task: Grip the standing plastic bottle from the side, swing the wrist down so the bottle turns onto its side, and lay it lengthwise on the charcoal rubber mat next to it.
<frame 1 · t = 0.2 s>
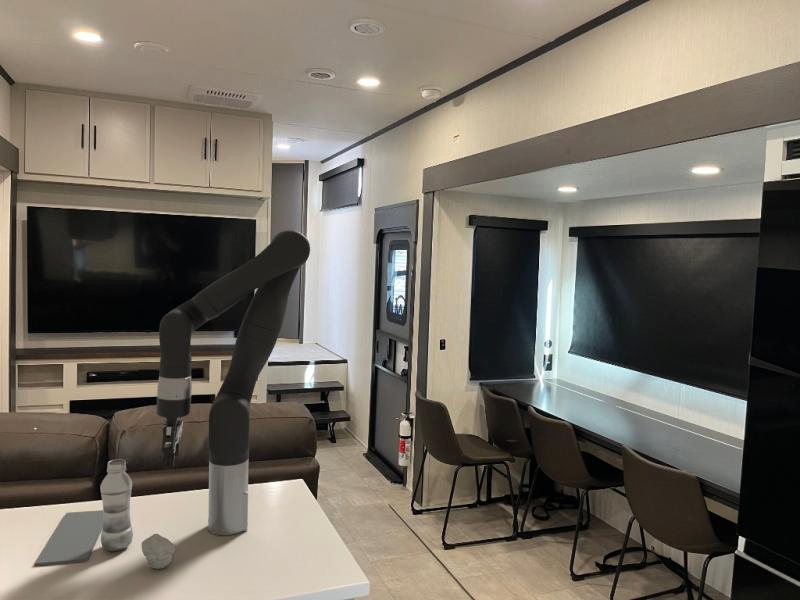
hand: (171, 461, 143), 17 cm above the table, tool pointing down, fingers open, 8 cm apart
plastic bottle: (116, 548, 136), on the table
charcoal rubber mat: (76, 536, 140), on the table
grey cupcake: (158, 568, 129), on the table
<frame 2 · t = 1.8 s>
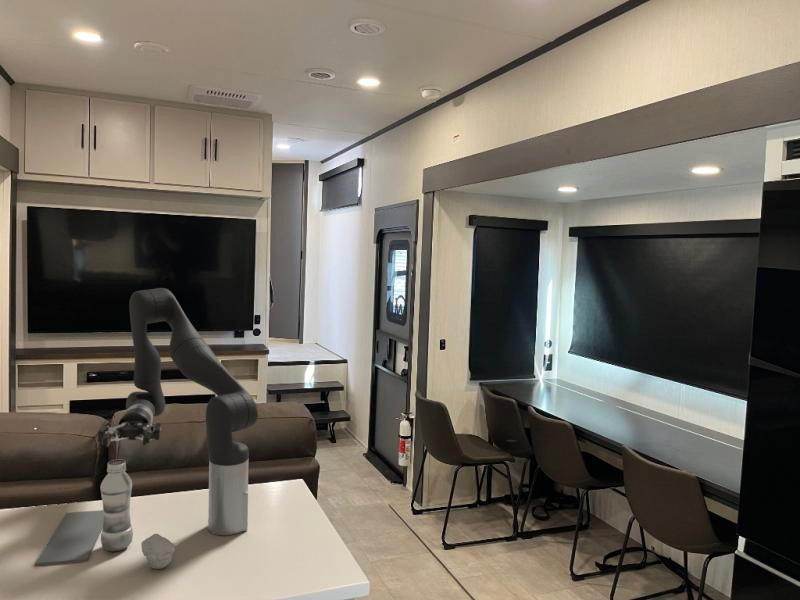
hand: (125, 442, 145), 21 cm above the table, tool horizontal, fingers open, 8 cm apart
nothing on the table moved.
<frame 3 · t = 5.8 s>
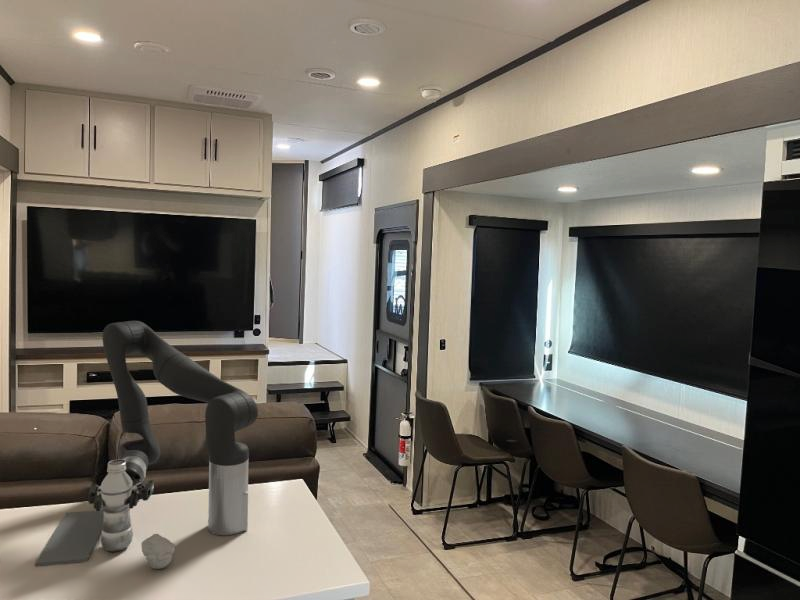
hand: (114, 505, 133), 11 cm above the table, tool horizontal, fingers closed on plastic bottle, 6 cm apart
plastic bottle: (116, 548, 136), on the table, touching gripper
everything else where it was.
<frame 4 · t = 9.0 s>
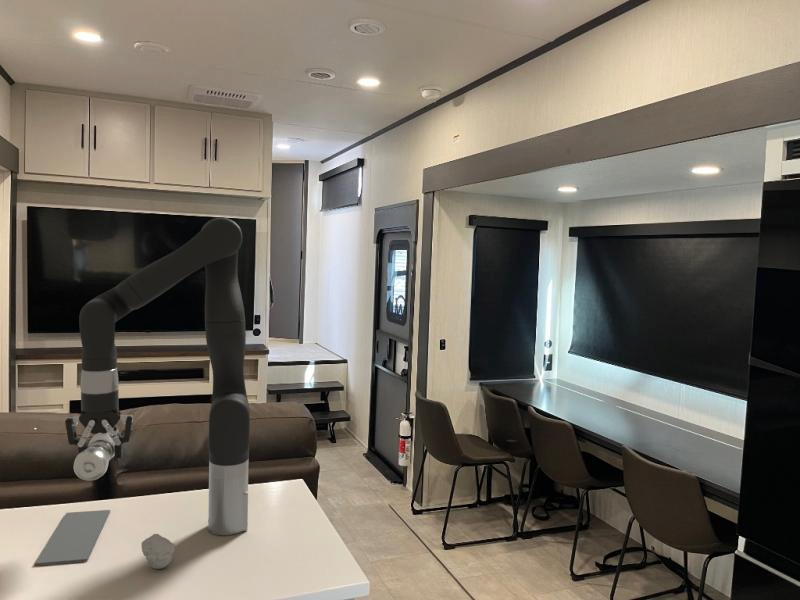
hand: (100, 460, 136), 19 cm above the table, tool pointing down, fingers closed on plastic bottle, 6 cm apart
plastic bottle: (88, 469, 125), point 22 cm above the table, touching gripper
everything else where it was.
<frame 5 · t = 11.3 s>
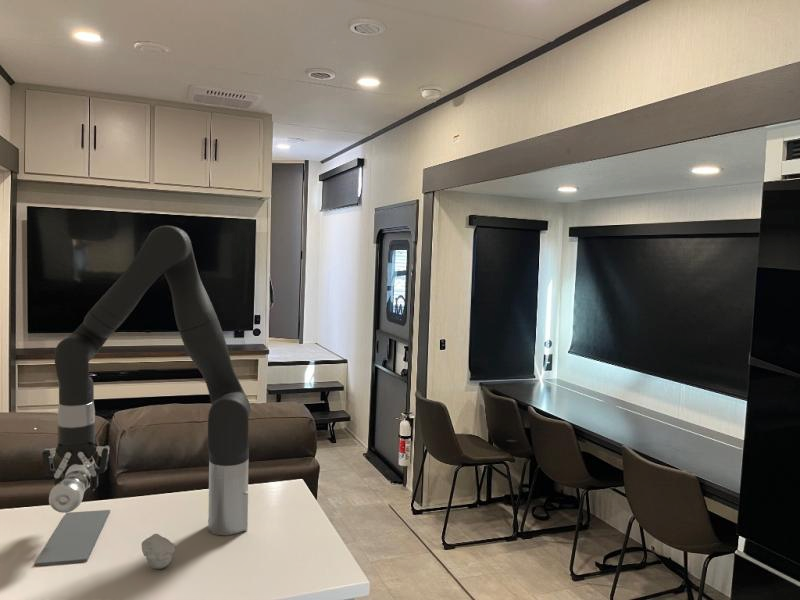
hand: (76, 491, 140), 11 cm above the table, tool pointing down, fingers closed on plastic bottle, 6 cm apart
plastic bottle: (62, 501, 129), point 13 cm above the table, touching gripper
everything else where it was.
when the fingers open (3 cm above the table, at t = 13.2 s): plastic bottle drops 2 cm, resting on charcoal rubber mat.
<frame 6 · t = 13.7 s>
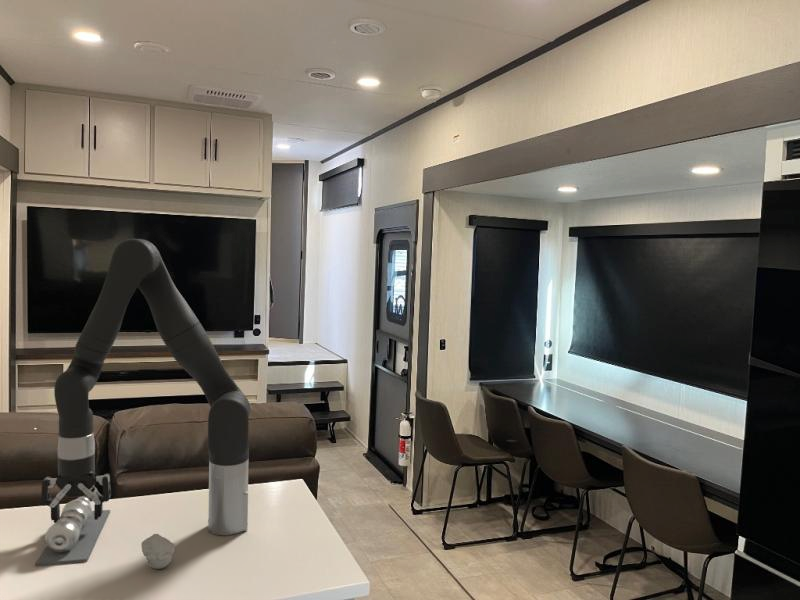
hand: (77, 519, 141), 4 cm above the table, tool pointing down, fingers open, 8 cm apart
plastic bottle: (58, 542, 130), point 4 cm above the table, touching charcoal rubber mat, gripper
everything else where it was.
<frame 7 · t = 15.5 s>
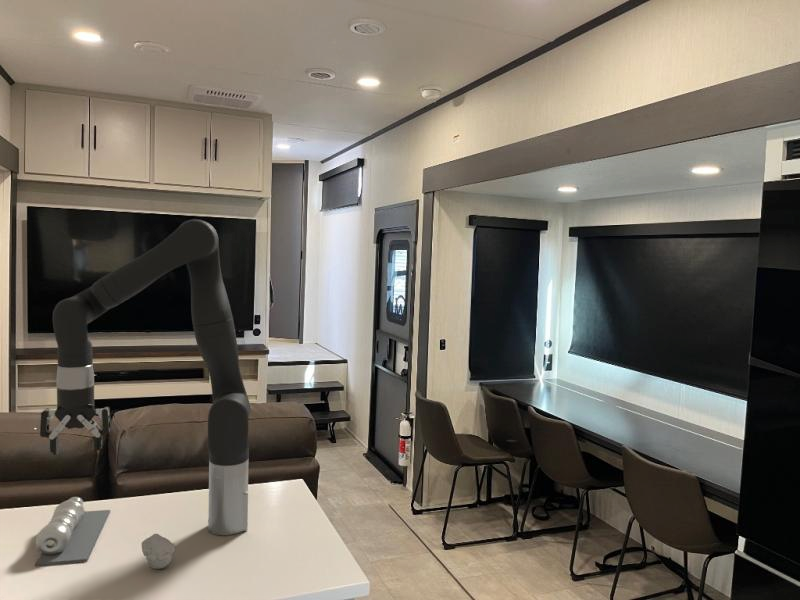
hand: (76, 452, 139), 20 cm above the table, tool pointing down, fingers open, 8 cm apart
plastic bottle: (50, 545, 129), point 3 cm above the table, touching charcoal rubber mat
everything else where it was.
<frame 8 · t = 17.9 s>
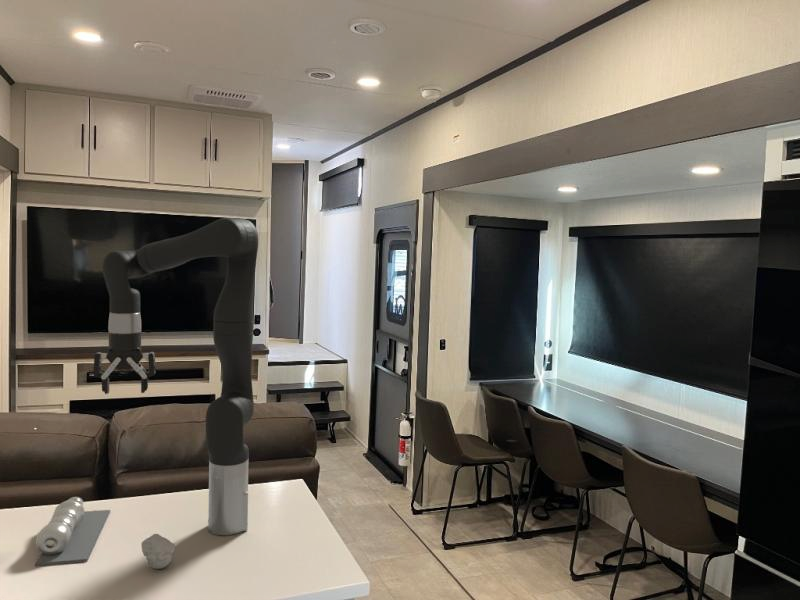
hand: (125, 392, 154), 30 cm above the table, tool pointing down, fingers open, 8 cm apart
nothing on the table moved.
at the end: plastic bottle tilted 89°; plastic bottle inside the target area (2.2 cm from its centre), point 3.5 cm above the table; plastic bottle touching charcoal rubber mat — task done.
